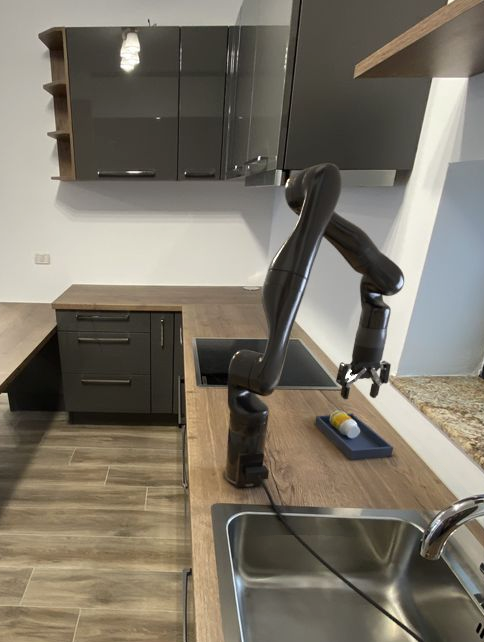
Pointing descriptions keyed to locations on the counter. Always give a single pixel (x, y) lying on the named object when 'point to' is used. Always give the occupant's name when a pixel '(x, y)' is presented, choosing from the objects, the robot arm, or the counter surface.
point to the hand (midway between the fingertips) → (358, 397)
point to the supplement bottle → (344, 424)
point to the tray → (355, 440)
